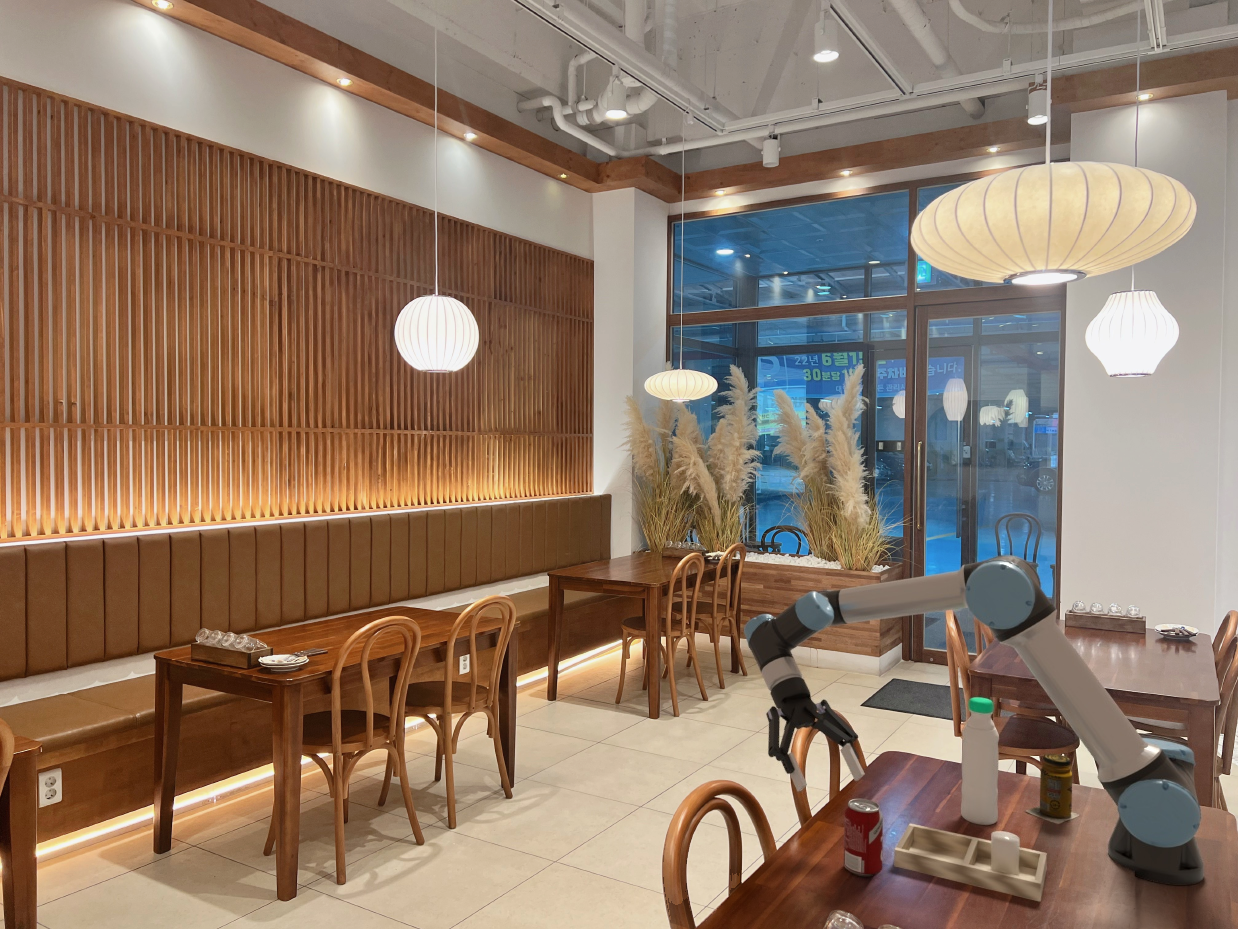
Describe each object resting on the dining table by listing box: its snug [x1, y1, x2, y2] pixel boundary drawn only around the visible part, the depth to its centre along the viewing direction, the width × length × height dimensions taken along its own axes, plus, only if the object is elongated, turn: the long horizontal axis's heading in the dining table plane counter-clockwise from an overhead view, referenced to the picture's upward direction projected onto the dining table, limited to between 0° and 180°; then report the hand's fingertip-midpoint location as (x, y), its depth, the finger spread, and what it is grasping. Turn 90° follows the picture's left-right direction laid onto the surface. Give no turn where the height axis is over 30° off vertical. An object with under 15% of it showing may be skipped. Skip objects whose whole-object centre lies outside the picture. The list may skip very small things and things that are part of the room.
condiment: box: [1025, 753, 1081, 825], centre depth 184 cm, size 7×8×12 cm
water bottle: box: [960, 696, 1000, 826], centre depth 181 cm, size 7×7×25 cm
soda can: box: [843, 798, 884, 878], centre depth 158 cm, size 7×7×12 cm
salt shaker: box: [990, 830, 1020, 876], centre depth 155 cm, size 5×5×7 cm
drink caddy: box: [893, 823, 1048, 903], centre depth 157 cm, size 24×13×4 cm, turn 60°
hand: (831, 783), depth 166 cm, fingers open, 13 cm apart
